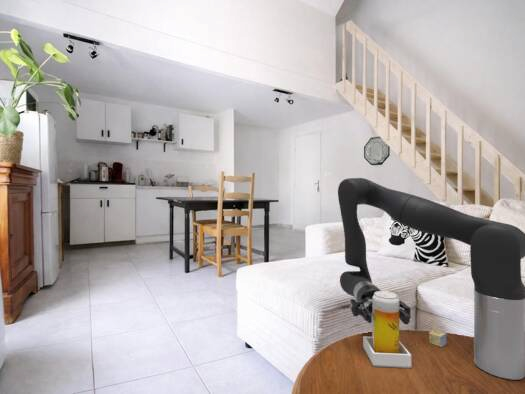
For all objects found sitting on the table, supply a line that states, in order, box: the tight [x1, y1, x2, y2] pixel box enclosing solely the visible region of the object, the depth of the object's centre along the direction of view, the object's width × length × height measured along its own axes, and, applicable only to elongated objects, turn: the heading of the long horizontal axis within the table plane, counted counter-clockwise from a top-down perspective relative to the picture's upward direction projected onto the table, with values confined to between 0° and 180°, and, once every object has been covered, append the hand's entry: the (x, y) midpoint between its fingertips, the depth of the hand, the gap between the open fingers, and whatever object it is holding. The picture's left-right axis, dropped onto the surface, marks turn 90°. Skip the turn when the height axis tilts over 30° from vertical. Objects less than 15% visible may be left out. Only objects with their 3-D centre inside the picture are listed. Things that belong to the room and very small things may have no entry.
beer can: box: [371, 290, 400, 354], centre depth 73 cm, size 6×6×15 cm
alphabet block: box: [428, 329, 447, 348], centre depth 80 cm, size 3×3×3 cm
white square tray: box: [362, 335, 412, 369], centre depth 73 cm, size 9×9×3 cm
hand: (388, 319), depth 71 cm, fingers open, 8 cm apart
